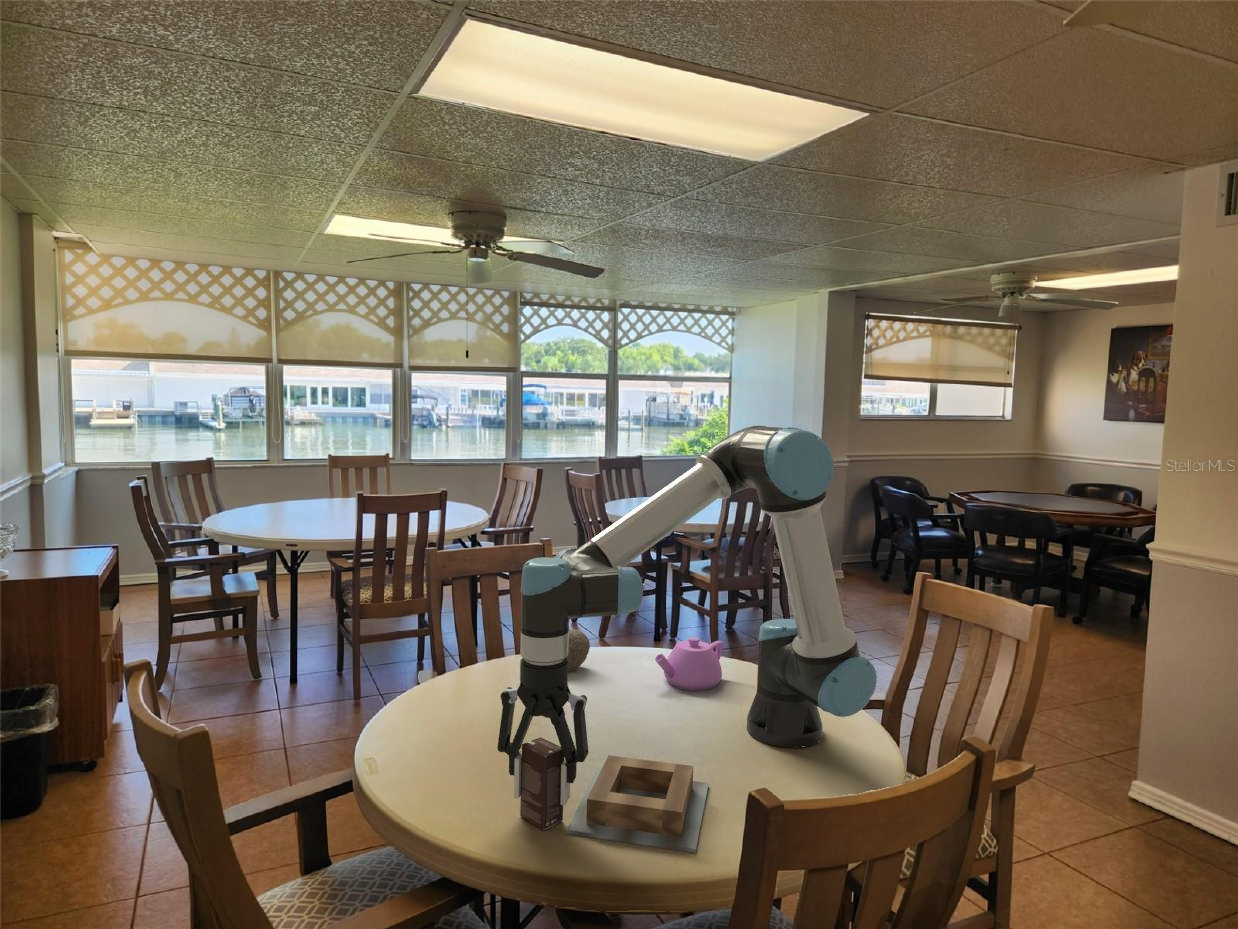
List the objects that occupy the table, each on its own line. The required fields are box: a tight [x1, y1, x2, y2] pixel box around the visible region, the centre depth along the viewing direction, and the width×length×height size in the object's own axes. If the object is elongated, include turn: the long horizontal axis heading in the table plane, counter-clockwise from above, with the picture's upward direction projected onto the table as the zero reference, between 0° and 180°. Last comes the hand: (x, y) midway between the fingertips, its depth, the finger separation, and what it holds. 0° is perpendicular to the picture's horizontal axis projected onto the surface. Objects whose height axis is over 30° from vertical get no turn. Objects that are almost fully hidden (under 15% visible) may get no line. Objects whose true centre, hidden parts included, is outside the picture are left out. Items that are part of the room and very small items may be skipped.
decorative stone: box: [566, 628, 591, 672], centre depth 186 cm, size 10×8×10 cm
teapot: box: [654, 636, 724, 692], centre depth 180 cm, size 14×20×11 cm
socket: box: [566, 754, 709, 854], centre depth 124 cm, size 20×20×5 cm
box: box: [519, 736, 565, 831], centre depth 120 cm, size 6×4×12 cm
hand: (542, 797), depth 120 cm, fingers closed on box, 7 cm apart
